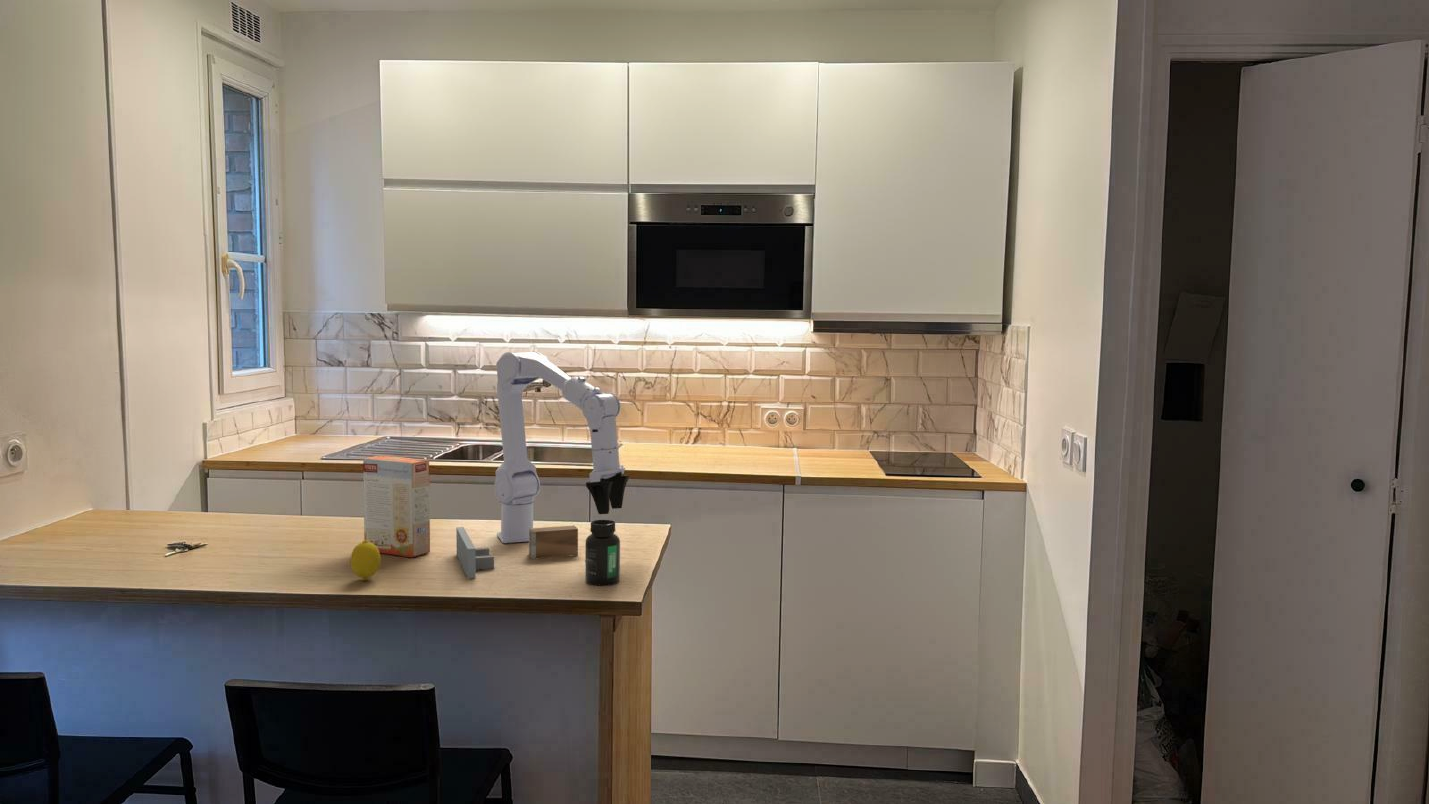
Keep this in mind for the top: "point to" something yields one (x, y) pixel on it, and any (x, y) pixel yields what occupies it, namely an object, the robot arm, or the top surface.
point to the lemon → (365, 560)
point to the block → (553, 541)
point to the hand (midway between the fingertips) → (610, 511)
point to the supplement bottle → (602, 554)
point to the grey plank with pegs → (472, 554)
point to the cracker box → (397, 505)
